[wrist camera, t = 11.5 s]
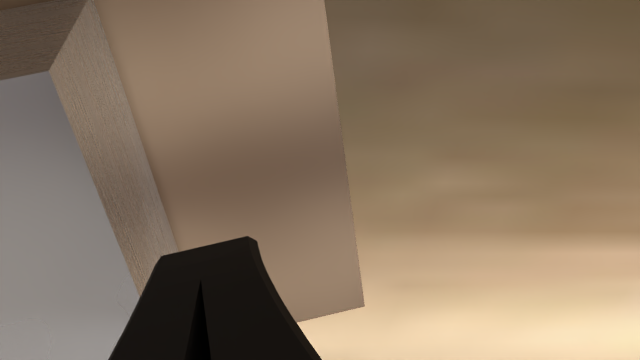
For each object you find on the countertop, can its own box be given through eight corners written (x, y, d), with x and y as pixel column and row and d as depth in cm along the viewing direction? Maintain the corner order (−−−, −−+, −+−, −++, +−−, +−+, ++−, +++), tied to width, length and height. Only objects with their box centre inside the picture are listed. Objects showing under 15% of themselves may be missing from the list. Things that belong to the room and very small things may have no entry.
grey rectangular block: (191, 290, 14) (192, 427, 11) (62, 320, 14) (25, 469, 11) (91, -7, 10) (48, 70, 7) (-87, 26, 10) (-213, 121, 7)
